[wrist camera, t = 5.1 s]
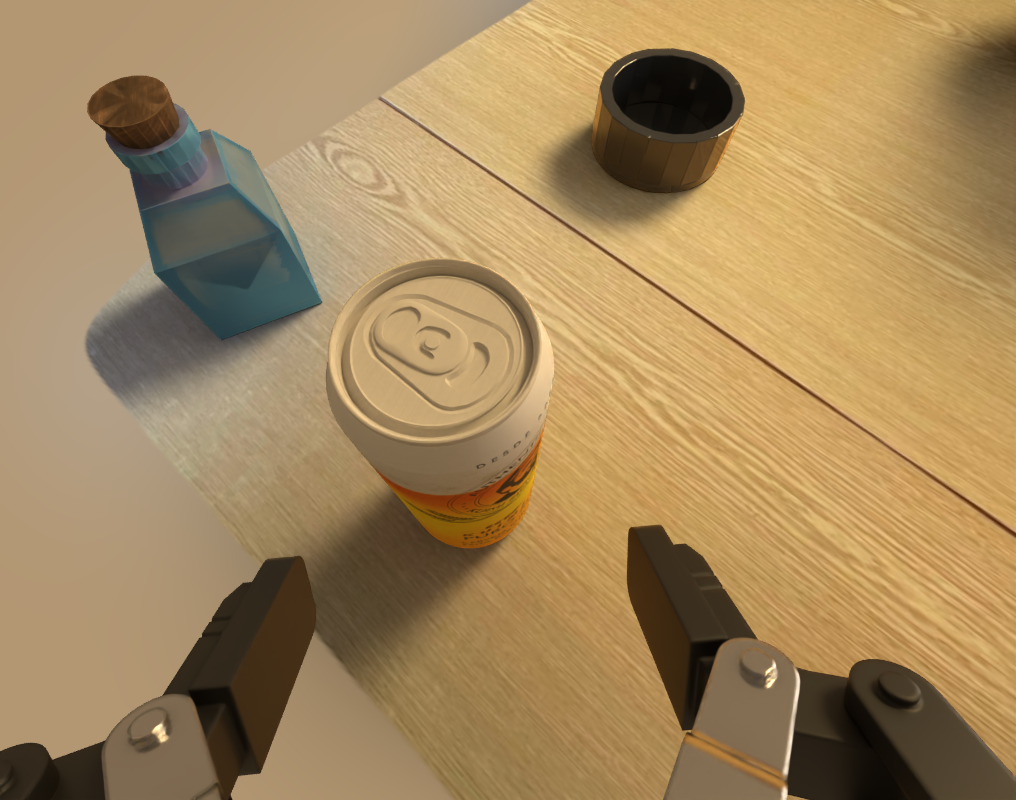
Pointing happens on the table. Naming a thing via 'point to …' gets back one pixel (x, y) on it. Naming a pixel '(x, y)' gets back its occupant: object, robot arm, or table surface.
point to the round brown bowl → (665, 119)
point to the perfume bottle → (204, 211)
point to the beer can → (445, 393)
